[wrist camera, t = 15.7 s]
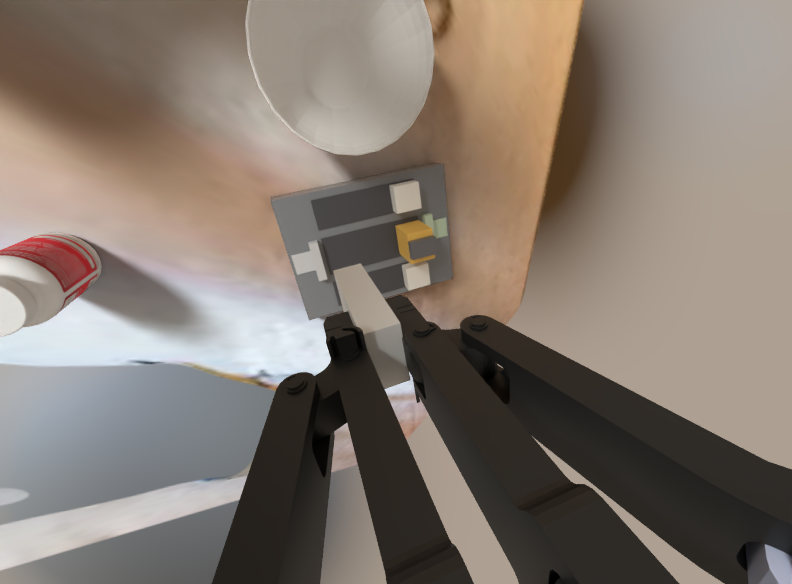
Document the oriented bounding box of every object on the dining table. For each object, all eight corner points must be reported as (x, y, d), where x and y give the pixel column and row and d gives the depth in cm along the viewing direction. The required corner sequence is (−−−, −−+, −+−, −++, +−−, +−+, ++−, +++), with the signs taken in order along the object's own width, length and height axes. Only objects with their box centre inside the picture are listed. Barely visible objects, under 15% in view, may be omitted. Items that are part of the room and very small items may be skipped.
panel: (307, 311, 44) (310, 326, 41) (270, 197, 37) (270, 203, 34) (445, 272, 48) (458, 282, 45) (435, 162, 41) (450, 165, 38)
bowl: (424, 124, 39) (451, 122, 33) (296, 174, 37) (300, 181, 31) (380, -56, 31) (405, -102, 25) (215, -7, 29) (200, -44, 23)
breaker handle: (399, 253, 42) (413, 266, 38) (395, 225, 40) (409, 236, 36) (421, 247, 42) (438, 260, 38) (418, 219, 41) (435, 229, 37)
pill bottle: (24, 223, 32) (-85, 261, 22) (105, 239, 34) (39, 279, 25) (25, 283, 34) (-74, 341, 24) (102, 293, 36) (39, 350, 26)
